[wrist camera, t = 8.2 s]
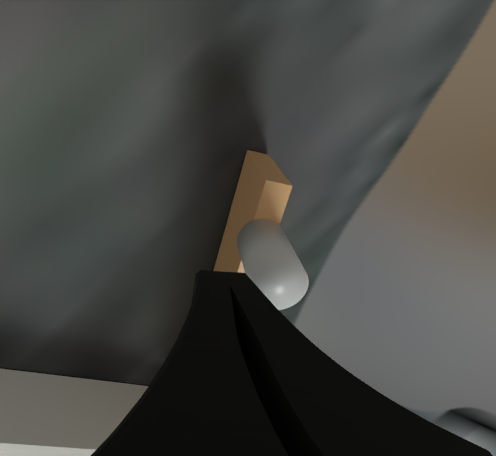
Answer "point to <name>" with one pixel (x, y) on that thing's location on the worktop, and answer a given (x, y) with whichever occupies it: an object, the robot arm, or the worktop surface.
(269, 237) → the side door
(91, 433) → the pale upright slab
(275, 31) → the worktop surface
